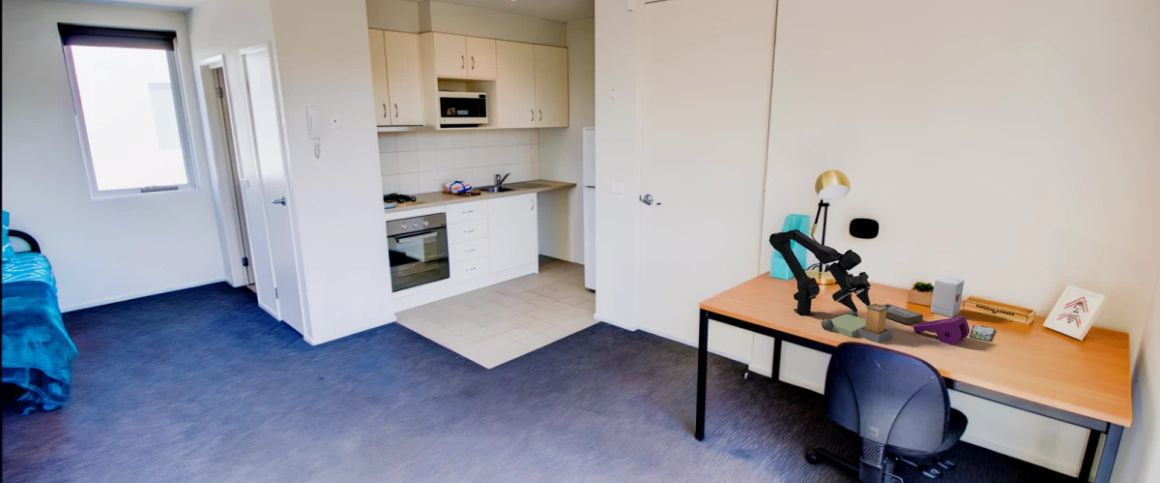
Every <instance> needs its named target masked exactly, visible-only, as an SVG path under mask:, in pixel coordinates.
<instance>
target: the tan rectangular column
mask: <svg viewBox="0 0 1160 483" xmlns="http://www.w3.org/2000/svg"><path fill="white" fill-rule="evenodd" d="M881 305H882V304H877V303H872V304H871V305H869V306H866V309H867V310H866V318H865V320H866V325H865V330H866V331H869V332H872V333H875V334H878V335H879V334H881V333H884V328H886V326H885V325H886V318H887V317H886V312H887V309H888V307H885V306H881Z"/></svg>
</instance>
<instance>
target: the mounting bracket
mask: <svg viewBox="0 0 1160 483" xmlns="http://www.w3.org/2000/svg"><path fill="white" fill-rule="evenodd" d="M968 323H969V322H968V320H967V317H966V316H965V315H963V316H957V317H955V316H954V317H949V318H948V317H947V318H941V319H937V320H936V319H935V320H934V319H933V320H928V321H924V322H923V321H922V322H920V323H919V322H918V323H915V324H914V325H912V328H913V331H914V332H915V333H918V332H925V331H926V332H928V331H935V333H936V336H937V338H938V339H939V341H940V342H942V343H944V344H947V345H955V344H956V343H958V342H959V341H962V340H963V339H965V338H967V337H969V335H970V333H971V331H970V327H969V324H968Z"/></svg>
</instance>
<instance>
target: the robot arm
mask: <svg viewBox="0 0 1160 483" xmlns="http://www.w3.org/2000/svg"><path fill="white" fill-rule="evenodd" d="M791 240H792V241H794V242H796V243H797V244H798V245H800V246H801V247H803V248H805V249H806V250H807V251H809V252H811V253H812V254H813V255H814V258H815V259H816V260H817V261H818V262H820V263H821V264H823V265H824V266H825V267H824V273H828V272H829V273H830V274H831V276H832V277H833V279H834V280H835V282H834V284H835V285H838V286H839V289H838V290H837V291H836V292H834V293H832V294H831V295H832V296H831V298H832V299H833V301H834V302H837V303H840V304H842V305H843V306H845V307H846V308H847V309H849V310H853V311H854V312H857V313H858V312H859V310H858V307H857V306H856V304H855V302H854V301H853V298H852V296H853V295H852V294H853V293H854V294H855V297H856V298H858V299H859V301H860V302H862V303H863V304H864V305H865V306H866V307H867V306H869V305H872V304H871V299H870V297H869V290H870V289H871V287H872V285H871V284H870V282H869V281H868V279H869V278H870V277H869V275H868V274H867V272H865V271H860V272H859V273H858V275H854V274H853V273H849V272H848V271H851V270H852V269H854V268H855V267H857V266H859V265H860V264H861V263H862V257H861V256H860V254H858V252H857V253H856V252H855V251H853V250H852V249H847V250H846V251H845V252H844V253H841V252H839V251H838V250H837V249H835V248H833V247H831V246H828V245H823V244H820V243H819V242H817V241H816V240H815V239H813V238H811V237H809V236H808V235H807V234H805V233H803V232H802V231H801V230H800V229H798V228H793V229H789V230H788V231H779V232H775V233H772V234H769V239H768V241H769V244H770V245H771V247H773V249H774V250H775V251H777V252H778V253H780V255H781V256H782V258H783V260H784V261H785V263H786V265H787V267H788V268H789V270H790V272H791V273H792V275H793V277H794V278H795V280H796V289H797V292H795V293H794V294H793V299H794V301H797V304H796V308H793V311H794V312H795V313H797V315H799V316H809V315H811V316H813V315H814V312H812V311H811V310H812V300H815V299H816V297H817V296H818V295H819V294H820V290H821V289H820V287H819V286H820V284H819V283H818V281H817V279H816V278H815V277H810V276H808V275H807V273H806V271H805V269H804V268H803V266H802V264H801V262H800V261H799V259H798V258H797V256H796V254H795V252H794V251H793V248H792V243H791Z"/></svg>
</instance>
